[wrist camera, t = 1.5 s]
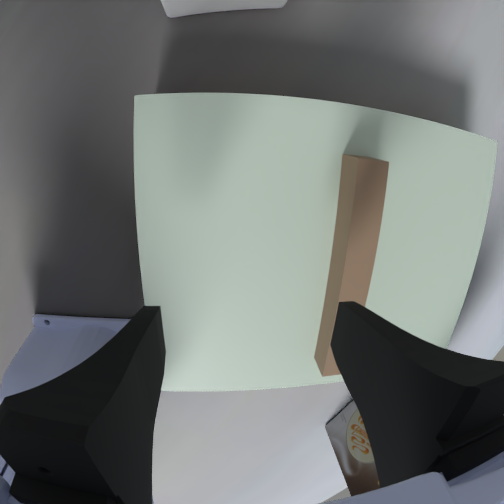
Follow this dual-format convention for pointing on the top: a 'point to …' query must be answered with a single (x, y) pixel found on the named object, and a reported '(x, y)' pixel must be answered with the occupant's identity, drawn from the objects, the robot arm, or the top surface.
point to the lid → (298, 229)
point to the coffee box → (353, 450)
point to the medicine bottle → (215, 6)
